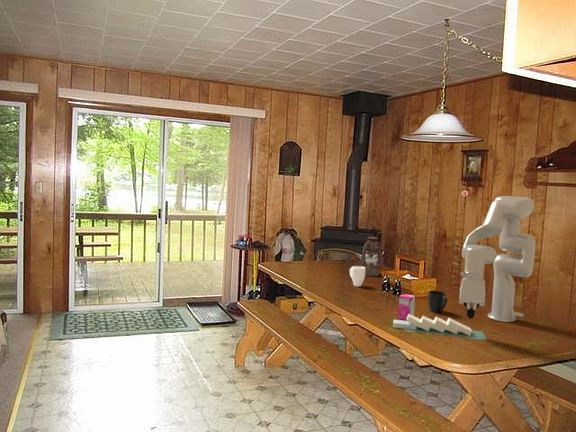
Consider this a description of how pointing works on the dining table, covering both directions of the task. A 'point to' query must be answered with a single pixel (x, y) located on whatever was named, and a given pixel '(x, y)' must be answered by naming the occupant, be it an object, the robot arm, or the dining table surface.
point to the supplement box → (406, 306)
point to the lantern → (372, 250)
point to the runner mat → (450, 333)
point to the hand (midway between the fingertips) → (470, 317)
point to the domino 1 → (403, 324)
